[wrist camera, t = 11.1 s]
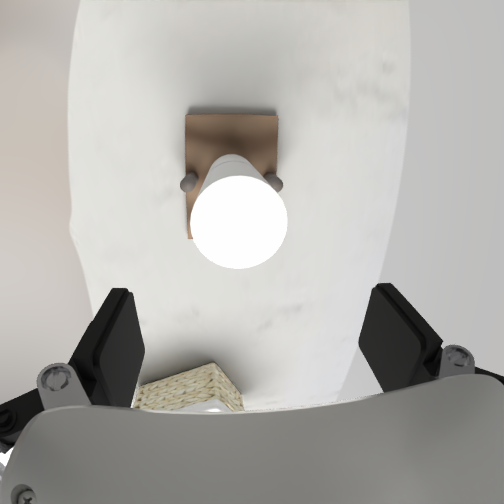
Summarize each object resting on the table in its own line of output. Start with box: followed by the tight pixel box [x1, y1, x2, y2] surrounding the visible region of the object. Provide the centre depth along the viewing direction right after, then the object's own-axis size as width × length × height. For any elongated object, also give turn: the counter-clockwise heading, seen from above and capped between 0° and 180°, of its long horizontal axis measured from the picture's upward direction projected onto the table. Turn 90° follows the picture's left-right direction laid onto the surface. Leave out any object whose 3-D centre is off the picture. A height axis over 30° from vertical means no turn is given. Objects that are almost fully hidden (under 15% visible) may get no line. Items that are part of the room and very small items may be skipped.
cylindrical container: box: [190, 154, 287, 269], centre depth 33 cm, size 7×7×25 cm
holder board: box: [180, 114, 283, 239], centre depth 43 cm, size 20×14×8 cm
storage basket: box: [133, 363, 245, 411], centre depth 58 cm, size 24×16×15 cm
